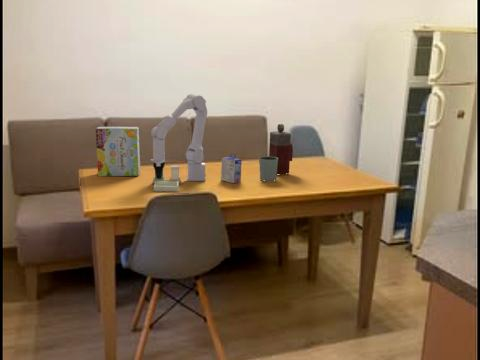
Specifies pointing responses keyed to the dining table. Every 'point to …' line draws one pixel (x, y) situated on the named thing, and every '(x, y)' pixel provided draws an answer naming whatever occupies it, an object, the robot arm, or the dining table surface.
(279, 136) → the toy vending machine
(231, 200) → the dining table surface
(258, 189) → the dining table surface
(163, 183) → the tray
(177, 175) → the block
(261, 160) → the drinking glass
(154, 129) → the robot arm
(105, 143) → the snack box
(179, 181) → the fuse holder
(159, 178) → the block
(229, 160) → the ink cartridge box
